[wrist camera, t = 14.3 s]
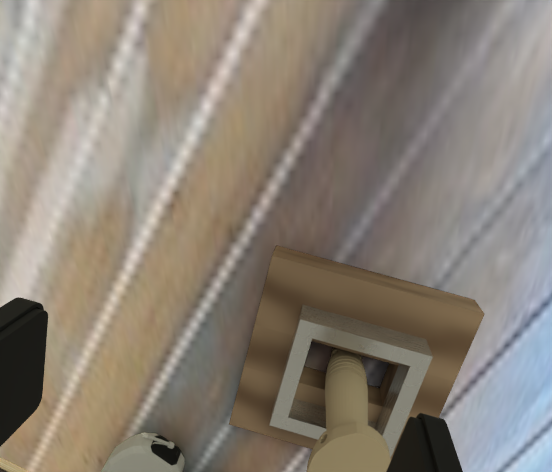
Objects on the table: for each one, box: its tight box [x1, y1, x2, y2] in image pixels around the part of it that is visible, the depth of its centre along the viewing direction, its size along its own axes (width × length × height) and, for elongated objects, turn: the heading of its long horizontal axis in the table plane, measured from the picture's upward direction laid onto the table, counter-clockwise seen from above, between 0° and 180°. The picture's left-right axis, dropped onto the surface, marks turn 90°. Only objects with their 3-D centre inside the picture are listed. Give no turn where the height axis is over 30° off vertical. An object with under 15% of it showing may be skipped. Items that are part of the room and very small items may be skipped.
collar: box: [270, 305, 433, 459], centre depth 42 cm, size 12×12×3 cm
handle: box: [307, 347, 391, 472], centre depth 39 cm, size 5×6×15 cm
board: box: [229, 246, 484, 471], centre depth 45 cm, size 20×20×3 cm
